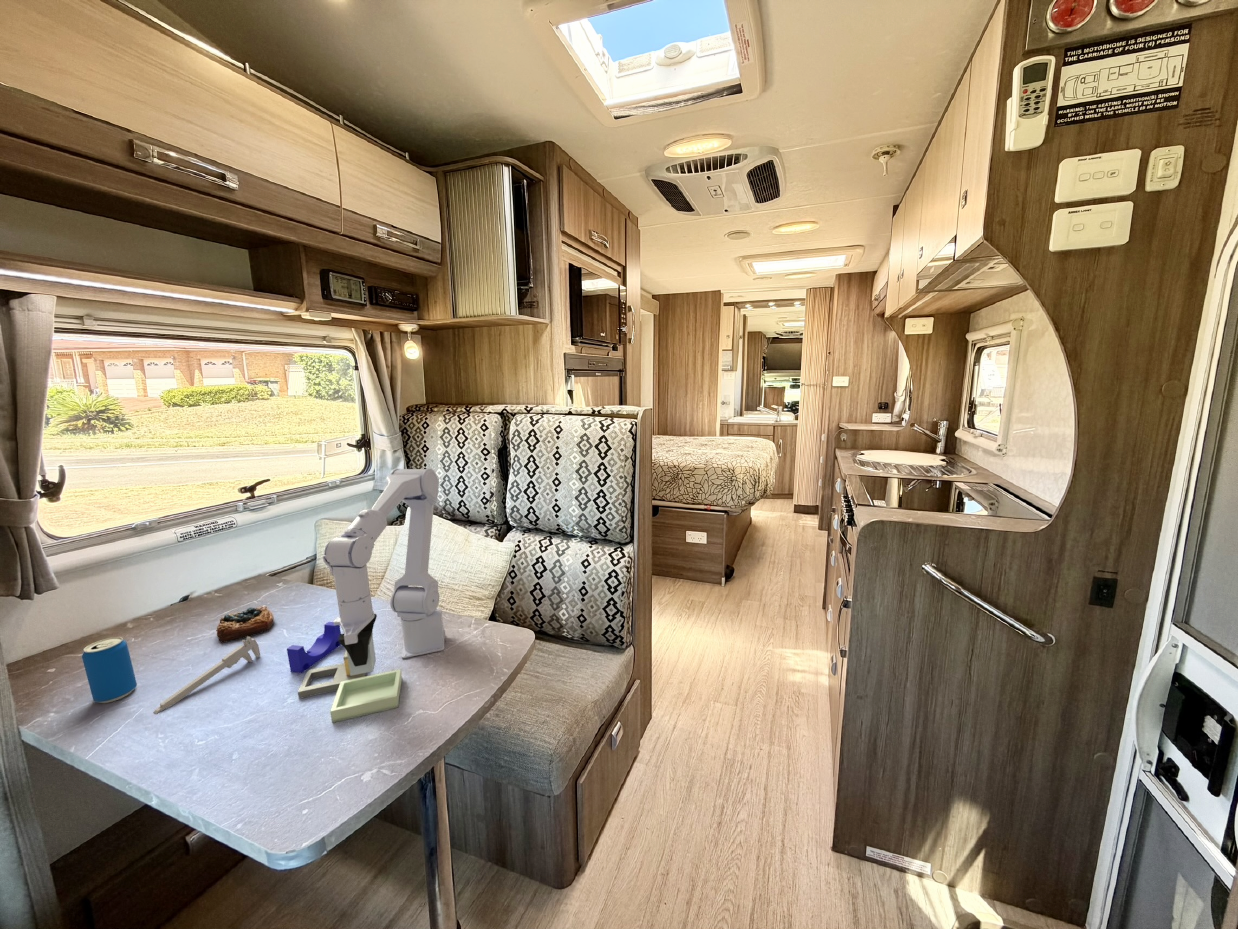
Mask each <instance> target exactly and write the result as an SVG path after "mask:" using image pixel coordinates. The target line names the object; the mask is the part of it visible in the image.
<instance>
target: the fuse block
mask: <svg viewBox="0 0 1238 929" xmlns="http://www.w3.org/2000/svg"><path fill="white" fill-rule="evenodd" d="M343 661H344V662H341V663H338V664H332V665H328V666H321V667H318V668H312V669H307V672H306V674H305V676H304V678H303V681H302V682H301V684H300V686H299V688H298V691H297V695H298V699H303V698H308V697H312V696H317V695H321V694H327V693H331V692H337V691H338V688H339V685H340V682H342V681H347V680H351V679H356V678H361V677H366V676H367V673H368V672H366V673H361V674H356V675H352V676H350V669H349V663H348V656H347V650H346V649H345V651H344V655H343ZM333 675H334V677H333V679H332V680H331V681H327V682H323V683H318V684H312V685H310V684H311V682H312V681H313V680H314V679H318V678H323V677H329V676H333Z"/></svg>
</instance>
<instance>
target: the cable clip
mask: <svg viewBox="0 0 1238 929" xmlns="http://www.w3.org/2000/svg"><path fill="white" fill-rule="evenodd" d="M323 627H324V629H323V633H322V634H321V635H319V636H318V637H316V640H315V641H314V643H313V644H312V645H311V647H310V648H309V649H307V650H306V649H305V647H304V645H294V644H292V645H291V646H289V647H287V648H286V653H287V657H288V658H287V659H288V664H289V670H290V672H291V673H297V674H303V673H305V672H306V671H308V670H310V668H312V667H313V666H314V665H316V664H317V663H319V662H320V661H322V660H323V659H324V658H325V657H327V656H328V655H329V654H331V653H332V652H334V651H335V650H336V649H338V648H339V647H341V646H342V645H341V644H340V643H339V639H338V638H339V636H340V634H342V633H341V626H340V625H334V621H328V622H326V623H325V624H323Z"/></svg>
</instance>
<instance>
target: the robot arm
mask: <svg viewBox="0 0 1238 929" xmlns="http://www.w3.org/2000/svg"><path fill="white" fill-rule="evenodd" d="M439 480H440V479H439V478H438V475H437V474H436V472H435V470H434V469H432V468H425V469H424V468H420V469H419V468H418V469H417V468H412V469H411V468H408V469H407V468H393V469H392V470H391V472H389V474H388V475H387V476H386V481H385V482H386V484H385V485H386V487H385V488H384V490H382V493H381V494H380V495H379V497H378V498H377V500H376V501H375V503H374V505H373V506H372V507H371V509H369V508H368V509H363V510H361V511H359V513H358V514H357V517H356V518H355V519H354V520H353V521H352V523H351V524H350V525H348V527H347V528H346V530H344V532H343V533H341V535H340V536H337V537H334V538H332V539H331V540H329V541H328V542H327V544H326V546H325V548H324V552H323V553H324V554H323V556H322V560H323V563H324V564H325V565H326V566H327V567H328V568H329V572H330V575H331V576H332V577H333V580H334V586H335V593H336V601H337V607H338V613H339V616H337V617H336V618H335V619H334V620H333V622H334V625H340V629H341V630H342V632H343V633H341V634H340V636H339V638H338V639H339V643H340V644H341V645H340V646H342V648H344V649H345V651H346V650H347V652H348V653H349V655H350V658H351V660H352V662H353V664H354V666H355V667H356V666H361V665H366V664H367V659H368V643H369V639H370V636H371V634H372V633H373V629H374V625H375V623H376V620H377V618H378V616H377V613H375V611H374V610H373V602H372V594H371V589H370V588H371V587H370V580H369V575H368V574H369V573H368V566H367V564H368V563H369V562H370V561H371V559H372V556H373V555H372V554H373V550H374V548H375V542H376V541H377V540H378V539H379V537H380V536H381V534H382V533H383V532H384V530H385V529H386V528H387V527H388V526H387V525H388V521H387V518H388V517H389V515H390V514H392V512H393V511H394V510H395V509H396V508H397V506H399V504H400V503H402V502H403V503H404V504H406V505H407V506H408V507H409V509H410V513H409V522H408V523H409V524H408V534H407V536H408V537H407V545H406V546H407V548H406V557H405V558H406V559H405V565H404V566H405V567H404V568H405V570H404V574H403V575H401V577H399V578H398V579H397V580H395V581H394V587H393V591H392V593H391V595H390V599H389V600H390V601H389V605H390V609H391V611H392V612H393V613H396V616H397V618H399V619H400V623H401V624H400V625H401V630H402V631H401V632H402V638H403V639H402V640H403V646H402V651H401V659H408V658H412V657H416V656H421V655H426V654H431V653H436V652H442V651H444V650H445V638H446V630H445V628H444V620H443V611H442V608H438V606H439V604H440V592H439V581H438V580H437V579H435V578H434V577H433V576H432V575H431V574H430V573H429V566H430V553H431V542H432V530H433V519H434V518H433V516H434V505H435V504H436V503H438V495H439V487H440V486H439V485H440V481H439Z"/></svg>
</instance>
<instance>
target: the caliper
mask: <svg viewBox="0 0 1238 929" xmlns="http://www.w3.org/2000/svg"><path fill="white" fill-rule="evenodd" d="M245 638H246V640H244V639H242V640H241V642H242V643H243V645H242V644H241V645H239V646H238V647H237V648H235V649H234V650H233V651H231V652H229V653H228V654H227V655H225V656H223V657H222V658H221V661H219V662H218V663H217V664H215V665H214V666H213V667H211V668H209V669H208V670H206V671H205V672H204V673H202V674H200V675H199V676H198V677H196V678H195V679H193V680H192V681H190V683H188V684H187V685H185V686H184V687H182V688H181V689H179V690H178V691H176V692H175V693H173V694H172V695H171V696H169V697H167V699H165V700H164V701H162V702H161V703H160V704H159V706H158V707H157V708H156V709H154V711H153V713H154V714H155V715H156V714H159V713H161V712H162V711H163V710H166V709H168V708H170V707H171V706H174V705H175V704H177V703H179V701H181V700H182V699H184V698H185V697H186V696H188V695H190V694H191V693H192V692H193V691H195V690H196V689H197V688H199V687H201V685H203V684H205V683H206V682H208V681H209V680H211V678H213V677H214V676H216V675H218V674H219V673H220V672H222V670H224V669H226V668H228V669H230V668H232V667H233V666H234V665H236V664H237V663H238V662H239V661H240V660H241V659H244V660H245V661H247V662H249V663H252V662H253V661H254V660H253V658H252V656H251V654H250V653H249V651H251V652H252V653H253V655H254V657H255V658H258V659H260V656H261V652H260V651H261V650H260V647H259V644H258V642H257V641H256V639H255V638H252V637H251V636H249V637H248V636H247V637H245Z"/></svg>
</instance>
